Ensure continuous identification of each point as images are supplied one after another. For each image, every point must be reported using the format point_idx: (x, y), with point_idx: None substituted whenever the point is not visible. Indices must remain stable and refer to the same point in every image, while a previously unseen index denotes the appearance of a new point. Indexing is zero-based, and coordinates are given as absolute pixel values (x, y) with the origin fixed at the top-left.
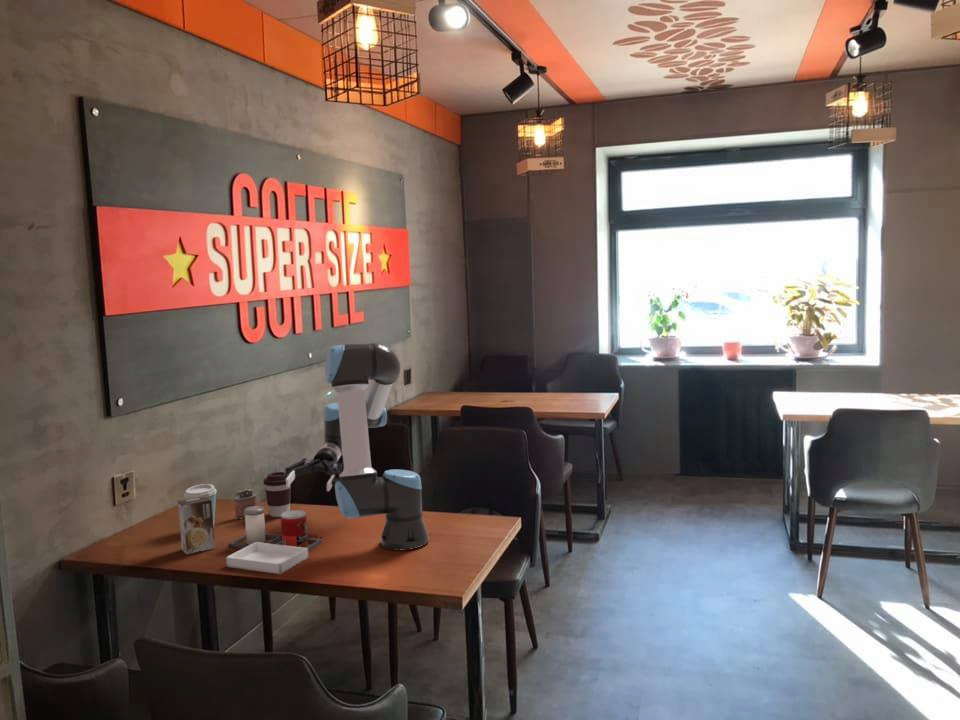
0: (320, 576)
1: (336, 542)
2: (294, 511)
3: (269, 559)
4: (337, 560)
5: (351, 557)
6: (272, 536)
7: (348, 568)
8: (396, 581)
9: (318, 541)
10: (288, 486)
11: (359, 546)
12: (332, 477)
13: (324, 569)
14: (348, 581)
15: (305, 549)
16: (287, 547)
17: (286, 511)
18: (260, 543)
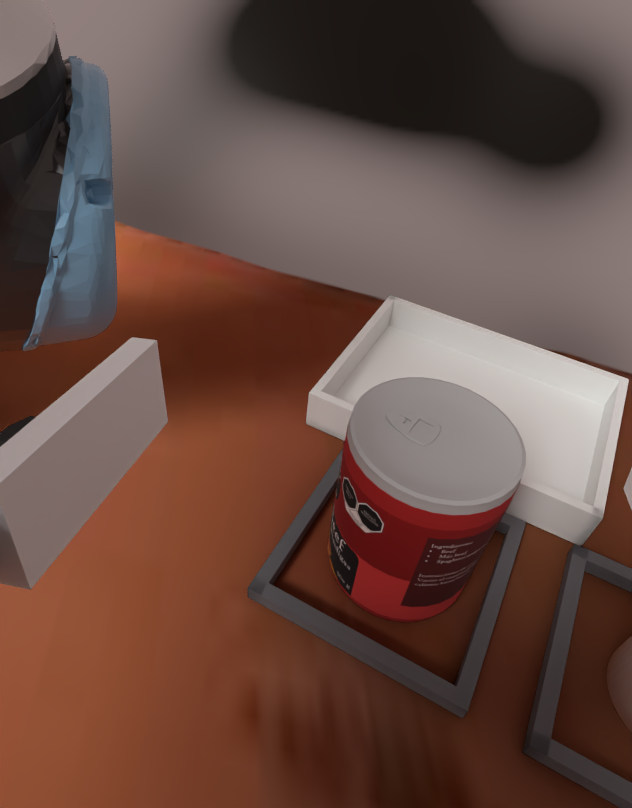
0: (253, 291)
1: (161, 585)
2: (446, 491)
3: None
4: (186, 378)
5: None
6: (607, 775)
7: (156, 317)
8: None
9: (266, 561)
10: (625, 490)
11: None
12: (34, 425)
13: (239, 326)
14: (172, 255)
15: (318, 382)
16: None
17: (506, 487)
18: (566, 496)
